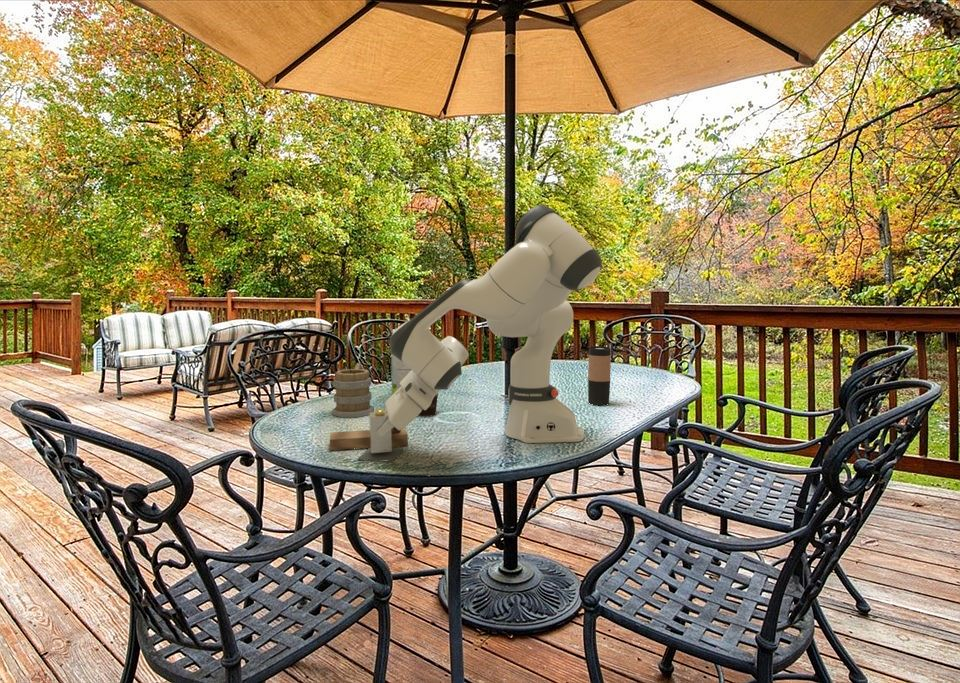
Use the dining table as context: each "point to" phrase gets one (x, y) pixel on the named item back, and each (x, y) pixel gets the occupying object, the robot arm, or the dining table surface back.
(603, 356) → the travel mug
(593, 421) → the dining table surface
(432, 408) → the coffee mug
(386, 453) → the mat
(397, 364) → the snack box
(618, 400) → the dining table surface
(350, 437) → the body
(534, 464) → the dining table surface
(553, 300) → the robot arm
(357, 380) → the tankard
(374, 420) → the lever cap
